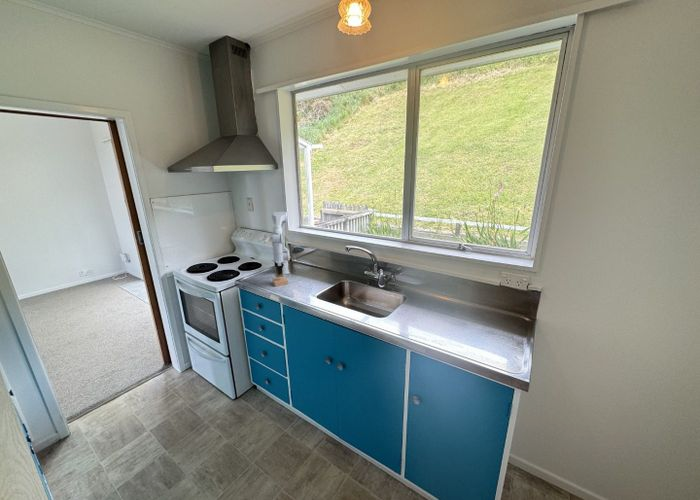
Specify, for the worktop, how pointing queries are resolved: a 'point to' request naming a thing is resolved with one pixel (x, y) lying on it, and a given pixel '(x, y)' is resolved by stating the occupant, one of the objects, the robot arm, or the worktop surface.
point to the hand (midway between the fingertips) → (279, 273)
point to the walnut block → (277, 273)
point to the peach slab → (280, 281)
